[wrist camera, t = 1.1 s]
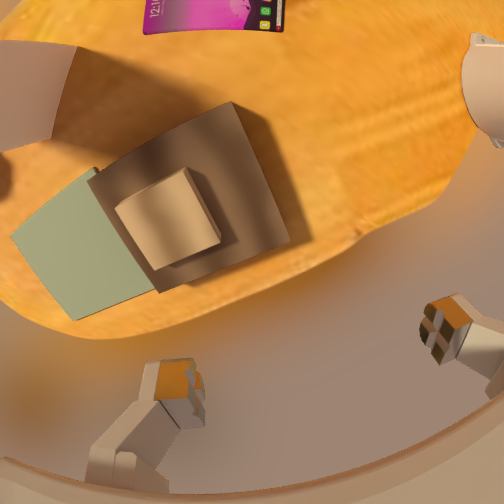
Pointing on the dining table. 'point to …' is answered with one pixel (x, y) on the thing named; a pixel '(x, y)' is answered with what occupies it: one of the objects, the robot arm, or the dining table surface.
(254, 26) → the smartphone
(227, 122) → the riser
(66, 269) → the mat
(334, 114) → the dining table surface
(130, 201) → the coaster
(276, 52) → the dining table surface
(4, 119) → the milk
